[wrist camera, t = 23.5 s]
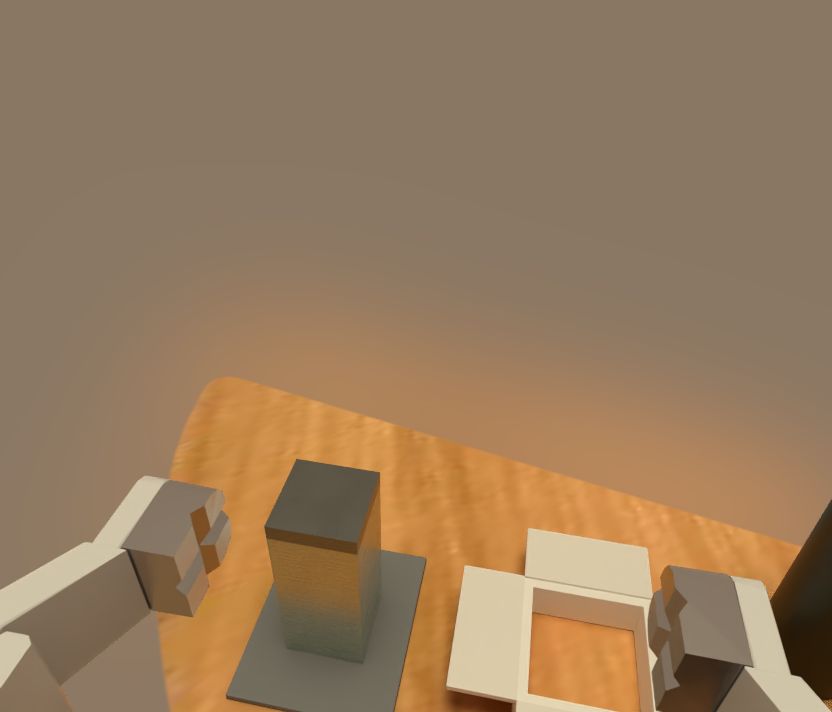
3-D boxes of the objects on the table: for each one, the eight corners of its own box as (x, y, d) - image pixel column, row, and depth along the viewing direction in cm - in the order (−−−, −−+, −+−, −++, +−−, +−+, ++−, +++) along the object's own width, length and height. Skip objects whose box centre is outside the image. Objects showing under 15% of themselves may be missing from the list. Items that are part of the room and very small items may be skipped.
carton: (695, 584, 46) (707, 557, 44) (743, 856, 33) (763, 834, 31) (469, 544, 48) (472, 518, 46) (432, 785, 35) (434, 761, 33)
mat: (426, 561, 47) (426, 557, 47) (389, 733, 37) (389, 730, 37) (294, 537, 48) (294, 534, 48) (226, 698, 39) (225, 695, 38)
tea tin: (381, 594, 44) (379, 472, 37) (362, 664, 40) (356, 542, 33) (311, 581, 45) (296, 458, 38) (286, 648, 41) (264, 526, 34)
